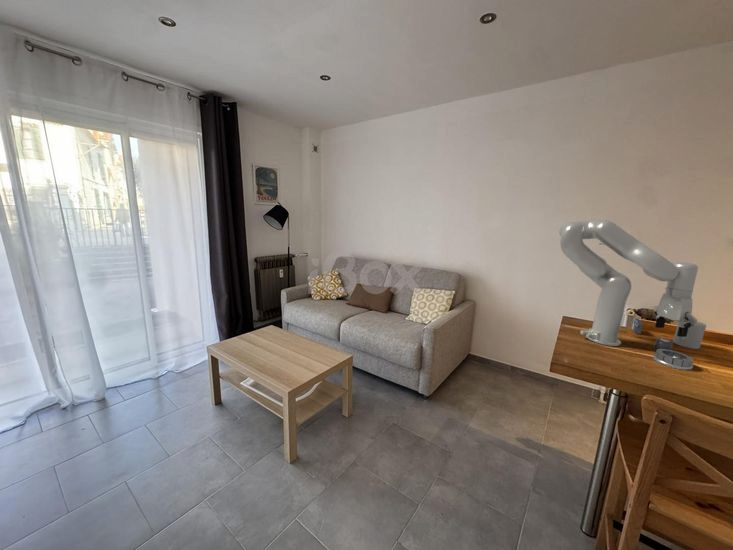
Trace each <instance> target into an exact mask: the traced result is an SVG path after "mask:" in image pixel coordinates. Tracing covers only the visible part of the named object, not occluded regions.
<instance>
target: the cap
mask: <svg viewBox="0 0 733 550" xmlns="http://www.w3.org/2000/svg"><path fill="white" fill-rule="evenodd" d="M673 345H674V342H673V340H670V339H666V338H661V337H657V338H656V339H655V343H654V345H653V351H655V352H656V350H657V349H667V350H672V349H673Z"/></svg>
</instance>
